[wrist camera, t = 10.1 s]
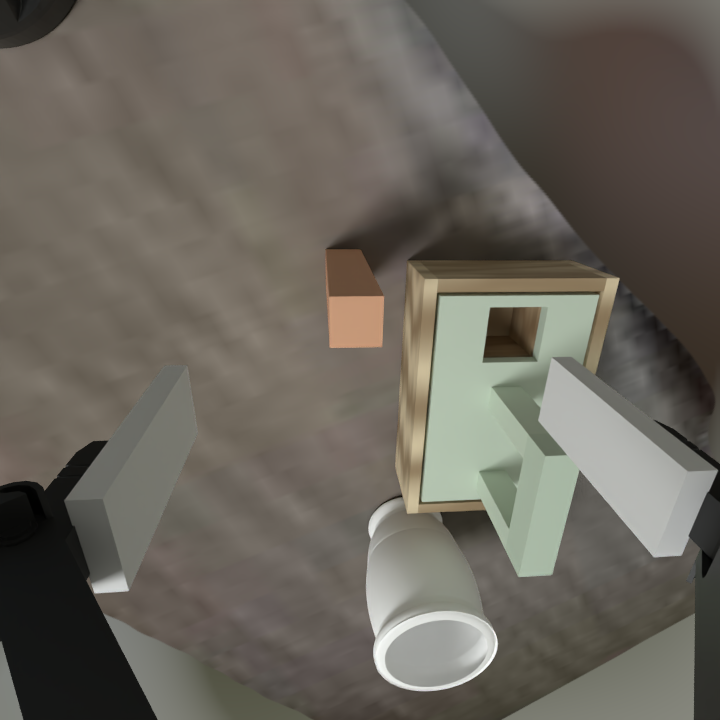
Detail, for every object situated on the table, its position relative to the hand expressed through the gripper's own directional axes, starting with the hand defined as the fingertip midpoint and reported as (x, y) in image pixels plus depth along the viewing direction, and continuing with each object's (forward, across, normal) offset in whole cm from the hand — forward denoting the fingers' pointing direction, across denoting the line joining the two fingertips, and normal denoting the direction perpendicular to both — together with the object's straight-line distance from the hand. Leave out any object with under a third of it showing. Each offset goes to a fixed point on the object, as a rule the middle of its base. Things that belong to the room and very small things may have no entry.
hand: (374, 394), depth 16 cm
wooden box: (+24, +13, -11) cm, 30 cm away
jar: (+24, +7, -30) cm, 39 cm away
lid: (+18, +13, -11) cm, 25 cm away
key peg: (+24, 0, -1) cm, 24 cm away
